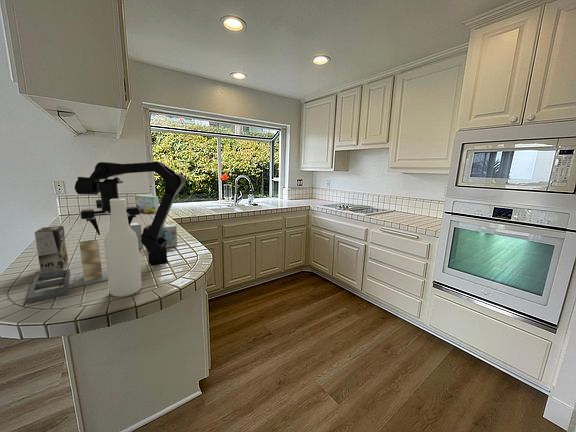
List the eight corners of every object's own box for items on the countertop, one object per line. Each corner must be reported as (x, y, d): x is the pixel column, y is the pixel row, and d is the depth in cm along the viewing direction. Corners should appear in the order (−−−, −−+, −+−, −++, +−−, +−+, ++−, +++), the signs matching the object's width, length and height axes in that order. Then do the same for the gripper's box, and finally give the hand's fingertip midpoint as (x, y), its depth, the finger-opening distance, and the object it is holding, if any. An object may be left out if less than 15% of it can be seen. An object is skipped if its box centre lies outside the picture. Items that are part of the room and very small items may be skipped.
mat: (109, 270, 97) (108, 269, 97) (111, 279, 89) (111, 278, 89) (75, 276, 90) (75, 275, 90) (74, 287, 83) (74, 285, 83)
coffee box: (63, 271, 94) (57, 230, 91) (40, 275, 91) (33, 232, 88) (69, 263, 102) (64, 225, 99) (48, 266, 99) (42, 226, 96)
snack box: (136, 211, 222) (134, 194, 219) (141, 211, 227) (140, 194, 224) (154, 213, 215) (153, 196, 212) (159, 212, 220) (158, 195, 218)
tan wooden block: (100, 273, 93) (96, 239, 91) (102, 277, 89) (98, 242, 87) (83, 276, 90) (79, 241, 87) (84, 281, 86) (79, 245, 84)
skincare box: (143, 248, 124) (141, 224, 122) (133, 250, 121) (131, 225, 119) (139, 245, 128) (137, 222, 126) (129, 247, 125) (127, 223, 123)
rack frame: (70, 273, 93) (69, 269, 93) (68, 294, 78) (67, 289, 78) (36, 279, 88) (35, 275, 87) (26, 303, 72) (26, 298, 72)
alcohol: (142, 293, 80) (134, 200, 74) (108, 300, 75) (97, 201, 70) (142, 282, 87) (134, 197, 82) (111, 288, 83) (101, 198, 77)
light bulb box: (155, 249, 122) (153, 228, 120) (152, 246, 127) (150, 225, 125) (178, 245, 129) (176, 225, 127) (174, 242, 134) (173, 223, 132)
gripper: (133, 192, 110) (136, 226, 113) (78, 193, 98) (83, 232, 101) (138, 194, 101) (141, 232, 104) (78, 196, 90) (83, 238, 93)
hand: (113, 233), depth 101 cm, fingers open, 9 cm apart
